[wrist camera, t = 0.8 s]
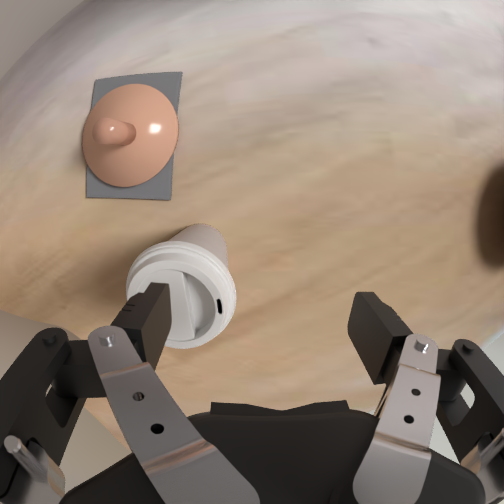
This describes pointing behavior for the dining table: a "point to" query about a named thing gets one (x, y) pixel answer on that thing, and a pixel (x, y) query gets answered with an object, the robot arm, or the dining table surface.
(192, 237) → the coffee cup
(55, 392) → the robot arm
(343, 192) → the dining table surface
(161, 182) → the mat
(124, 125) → the lid
